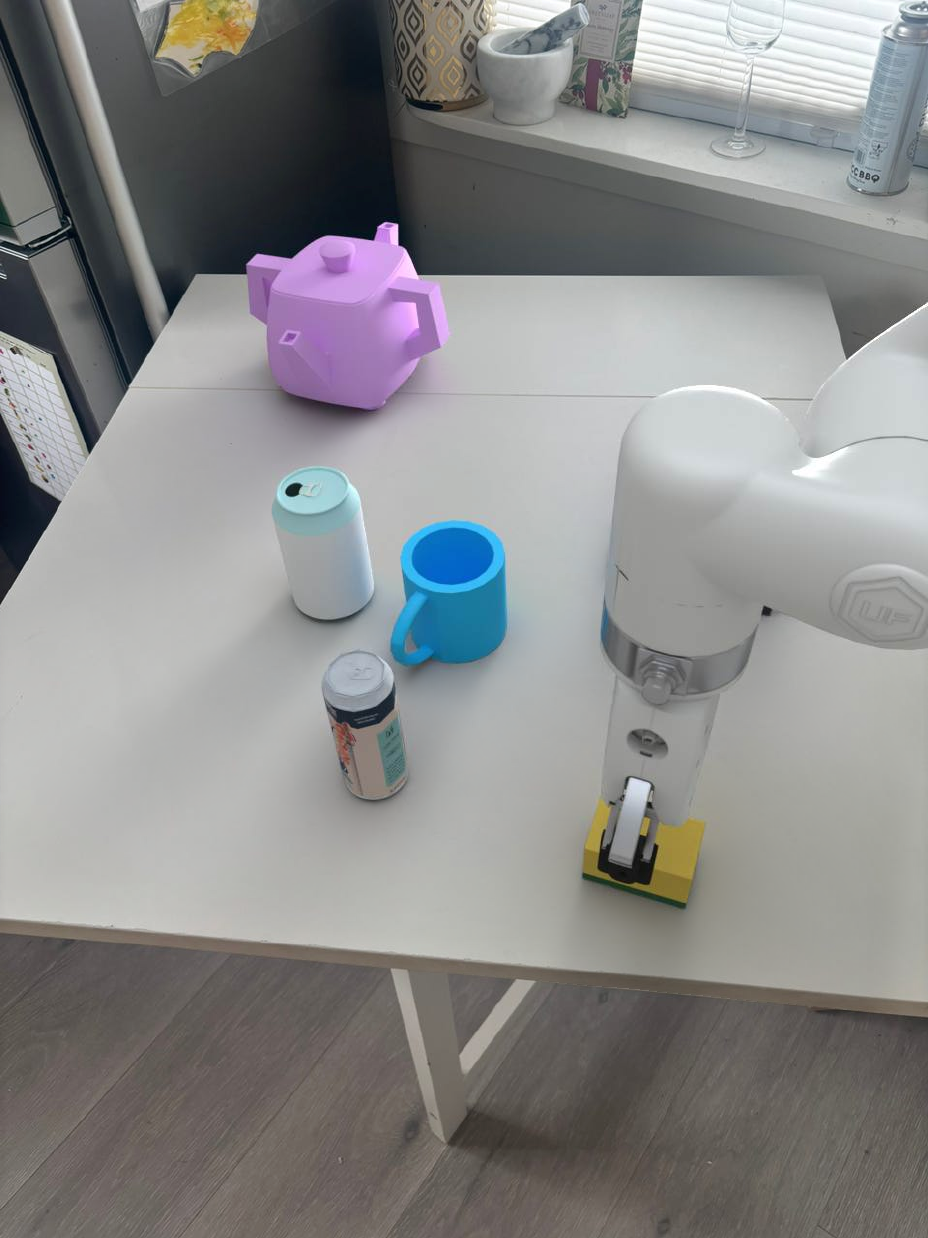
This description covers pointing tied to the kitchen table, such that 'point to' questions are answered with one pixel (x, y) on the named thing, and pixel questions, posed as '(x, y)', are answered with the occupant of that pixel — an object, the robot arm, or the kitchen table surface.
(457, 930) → the kitchen table surface
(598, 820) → the sponge
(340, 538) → the can
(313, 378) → the teapot
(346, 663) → the beer can
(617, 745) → the robot arm
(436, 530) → the mug
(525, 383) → the kitchen table surface
